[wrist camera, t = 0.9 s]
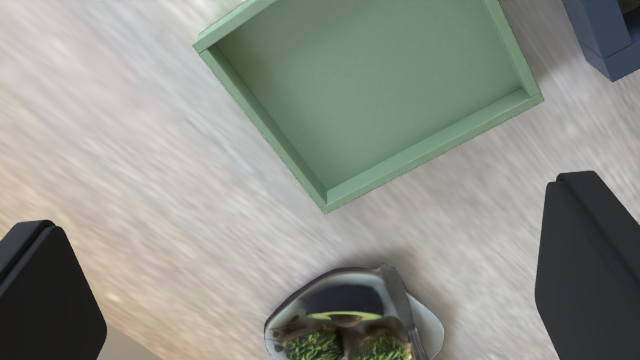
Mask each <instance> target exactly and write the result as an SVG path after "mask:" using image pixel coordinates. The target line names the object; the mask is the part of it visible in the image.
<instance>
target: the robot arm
mask: <svg viewBox="0 0 640 360" xmlns="http://www.w3.org/2000/svg"><path fill="white" fill-rule="evenodd" d="M535 301H536V306H537V309H538V312H539V314H540V316H541V319H542V321H543V323H544V325H545V327H546V330H547V332H548V334H549V336H550V339H551V341H552V343H553V345H554V348H555V350H556V352H557V354H558V356H559V359H560V360H640V225H639V224H638V223H637V222H636V220H635V219H634V218H633V217H632V216H631V214H630V213H629V212H628V211H627V210H626V208H625V207H624V206H623V205H622V204H621V202H620V201H619V200H618V199H617V198H616V196H615V195H614V194H613V193H612V191H611V190H610V189H609V188H608V187H607V185H606V184H605V183H604V182H603V181H602V179H601V178H600V177H599V176H598V175H597V173H595V172H594V171H580V172H569V173H560V174H559V175H558V176H557V178H556V182H549V183H548V184H547V187H546V193H545V202H544V211H543V220H542V229H541V238H540V247H539V256H538V265H537V274H536V283H535ZM106 335H107V326H106V322H105V320H104V318H103V315H102V313H101V311H100V309H99V307H98V304H97V302H96V300H95V298H94V295H93V293H92V291H91V289H90V287H89V284H88V282H87V280H86V278H85V276H84V273H83V271H82V269H81V267H80V264H79V262H78V260H77V258H76V256H75V253H74V251H73V249H72V247H71V245H70V242H69V240H68V238H67V236H66V234H65V232H64V230H63V229H62V228H61V227H59V226H56V225H55V224H54V223H53V222H52V221H50V220H38V221H27V222H20V223H17V224H16V225H14V226H13V227H12V229H11V230H10V231H9V232H8V233H7V234H6V235H5V237H4V238H3V239H2V240H1V241H0V360H96V359H97V357H98V355H99V353H100V351H101V349H102V346H103V344H104V342H105V339H106Z"/></svg>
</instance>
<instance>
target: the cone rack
mask: <svg viewBox="0 0 640 360" xmlns="http://www.w3.org/2000/svg"><path fill="white" fill-rule="evenodd" d="M562 1H563V4H564V6H565V9H566V11H567V14H568V16H569V19H570V21H571V24H572V26H573V29H574V31H575V33H576V36H577V38H578V41H579V43H580V46H581V48H582V51H583V53H584V56H585V58H586V61H587V62H589V63H590V64H591V65H592V66H593V67H595V68H596V69H597V70H598V71H599V72H600V73H602V74H603V75H604V76H605V77H606V78H608V79H609V80H610V81H611V82H615V81H617V80H619V79H621V78H622V77H624V76H626V75H628V74H630V73H632V72H634V71H636V70H638V69H640V6H639V7H637V8H635V9H634V10H632V11H630V12H628V13H626V14H624V15H622V13H621V10H620V7H619V4H618V1H617V0H562Z"/></svg>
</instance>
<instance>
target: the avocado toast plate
mask: <svg viewBox="0 0 640 360" xmlns="http://www.w3.org/2000/svg"><path fill="white" fill-rule="evenodd" d="M405 290H406V287H405V285H404V283H403V280H402V278H401V276H400V275H399V273H398V272H397V270H396V268H394V267H392V266H389V265H387V264H384V263H383V264H382V265H381V266H380V268H376V269H366V268H358V267H350V268H340V269H335V270H332V271H329V272H327V273H325V274H323V275H321V276H320V277H318V278H317V279H315V280H313V281H311V282H310V283H308V284H307V285H306V286H304V287H302V288H301V289H299V290H298V291H296V292H295V293H293V294H292V295H291V296H290V297H289V298H288V299H287V300H286V301H285V302H284V303H282V304H281V305H280V306H279V307H278V308H277V309H276V311H275V312H274V313H273V314H272V315H271V316H270V317H269V318H268V319H267V321H266V323H265V327H264V339H265V343H266V347H267V350H268V352H269V354H270V355H271V356H272V357H273V358H274V359H275V360H431V359H432V358H433V357H434V356H436V355H437V353H438V352H439V351H440V349H441V347H442V344H443V340H444V328H443V325H442V323H441V322H440V320H439V319H438V318H437V317H436V316H435V315H434V314H433V313H432V311H430V310H429V309H428V308H427V307H426V306H425V305H423V304H422V303H421V302H419V301H418V300H417V299H415V298H414V297H413V296H411V295H410V294H409V293H407V292H406V291H405Z"/></svg>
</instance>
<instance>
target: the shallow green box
mask: <svg viewBox="0 0 640 360" xmlns="http://www.w3.org/2000/svg"><path fill="white" fill-rule="evenodd" d="M192 47H193V48H194V49H195V51H196V52H197V53H198V54H199V56H200V57H201V58H202V59H203V61H204V62H205V63H206V64H207V66H208V67H209V68H210V70H211V71H212V72H213V73H214V75H215V76H216V77H217V78H218V80H219V81H220V82H221V84H222V85H223V86H224V87H225V89H226V90H227V91H228V92H229V94H230V95H231V96H232V98H233V99H234V100H235V101H236V103H237V104H238V105H239V106H240V108H241V109H242V110H243V112H244V113H245V114H246V115H247V117H248V118H249V119H250V120H251V122H252V123H253V124H254V126H255V127H256V128H257V129H258V131H259V132H260V133H261V134H262V136H263V137H264V138H265V140H266V141H267V142H268V143H269V145H270V146H271V147H272V148H273V150H274V151H275V152H276V154H277V155H278V156H279V157H280V159H281V160H282V161H283V162H284V164H285V165H286V166H287V168H288V169H289V170H290V171H291V173H292V174H293V175H294V176H295V178H296V179H297V180H298V182H299V183H300V184H301V185H302V187H303V188H304V189H305V190H306V192H307V193H308V194H309V196H310V197H311V198H312V199H313V201H314V202H315V203H316V204H317V206H318V207H319V208H320V210H321V211H322V212H323V213H324V214H327V213H329V212H331V211H333V210H335V209H337V208H338V207H340V206H342V205H344V204H346V203H348V202H350V201H352V200H354V199H356V198H358V197H360V196H362V195H364V194H365V193H367V192H369V191H371V190H373V189H375V188H377V187H379V186H381V185H383V184H385V183H387V182H389V181H391V180H392V179H394V178H396V177H398V176H400V175H402V174H404V173H406V172H408V171H410V170H412V169H414V168H416V167H418V166H420V165H421V164H423V163H425V162H427V161H429V160H431V159H433V158H435V157H437V156H439V155H441V154H443V153H445V152H447V151H448V150H450V149H452V148H454V147H456V146H458V145H460V144H462V143H464V142H466V141H468V140H470V139H472V138H474V137H475V136H477V135H479V134H481V133H483V132H485V131H487V130H489V129H491V128H493V127H495V126H497V125H499V124H501V123H502V122H504V121H506V120H508V119H510V118H512V117H514V116H516V115H518V114H520V113H522V112H524V111H526V110H528V109H530V108H531V107H533V106H535V105H537V104H539V103H541V102H543V101H544V98H543V96H542V94H541V91H540V89H539V87H538V85H537V83H536V81H535V78H534V76H533V74H532V72H531V70H530V68H529V65H528V63H527V61H526V59H525V57H524V55H523V53H522V50H521V48H520V46H519V44H518V42H517V40H516V38H515V35H514V33H513V31H512V29H511V27H510V25H509V23H508V20H507V18H506V16H505V14H504V12H503V10H502V7H501V5H500V3H499V1H498V0H247V1H246V2H244V3H243V4H242V5H240V6H239V7H237V8H236V9H234V10H233V11H232V12H230V13H229V14H227V15H226V16H224V17H223V18H221V19H220V20H219V21H217V22H216V23H214V24H213V25H211V26H210V27H209V28H207V29H206V30H204V31H203V32H201V33H200V34H199V35H198V37H197V38H196V40H195V41H194V43H193V44H192Z"/></svg>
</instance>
